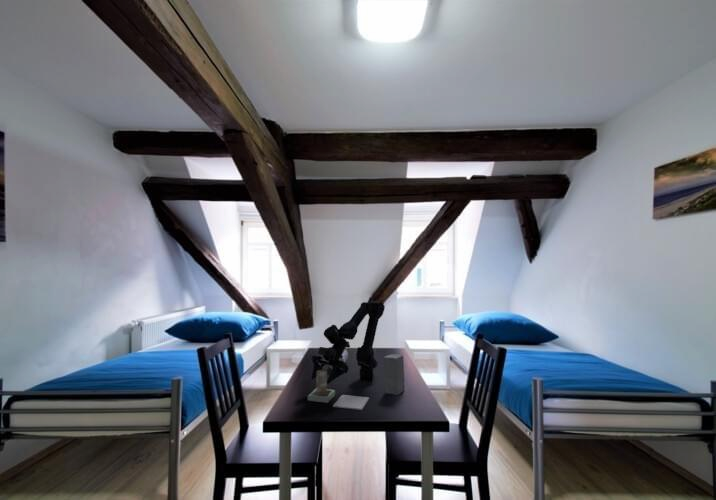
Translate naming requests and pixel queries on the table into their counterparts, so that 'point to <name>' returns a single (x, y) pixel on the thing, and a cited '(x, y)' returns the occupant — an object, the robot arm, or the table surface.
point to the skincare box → (394, 374)
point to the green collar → (326, 399)
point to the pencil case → (344, 358)
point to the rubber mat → (351, 402)
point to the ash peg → (321, 383)
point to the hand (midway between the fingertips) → (319, 381)
